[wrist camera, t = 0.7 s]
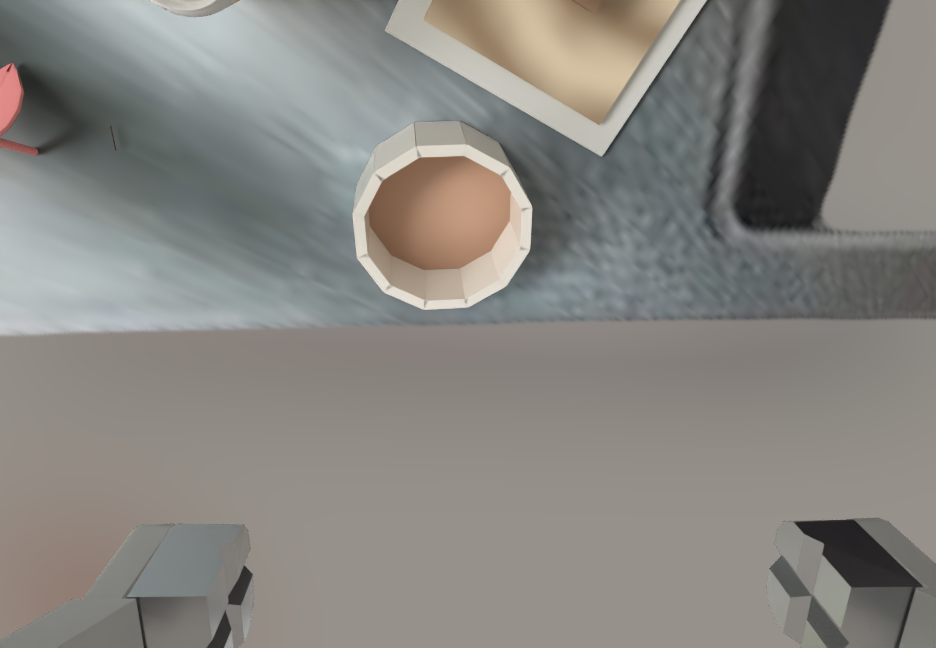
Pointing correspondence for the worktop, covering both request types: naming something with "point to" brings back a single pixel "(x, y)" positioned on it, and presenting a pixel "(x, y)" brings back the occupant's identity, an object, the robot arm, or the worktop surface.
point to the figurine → (12, 106)
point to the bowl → (441, 216)
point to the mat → (526, 96)
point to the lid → (559, 42)
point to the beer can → (194, 6)
